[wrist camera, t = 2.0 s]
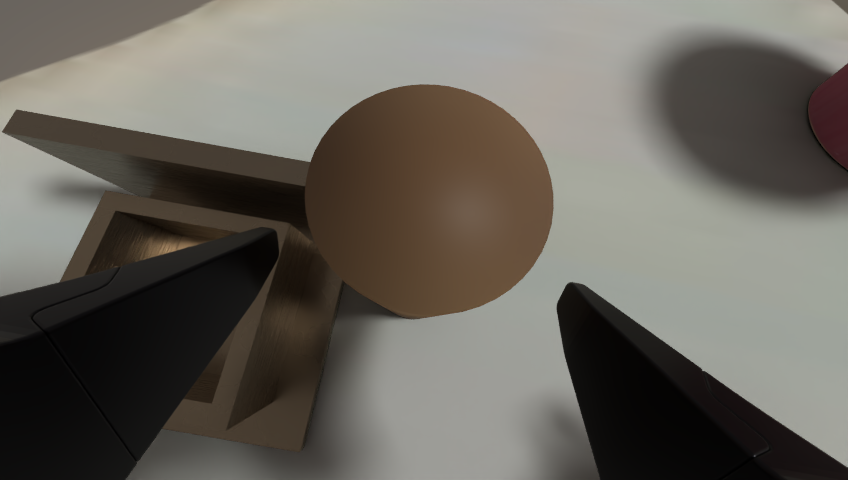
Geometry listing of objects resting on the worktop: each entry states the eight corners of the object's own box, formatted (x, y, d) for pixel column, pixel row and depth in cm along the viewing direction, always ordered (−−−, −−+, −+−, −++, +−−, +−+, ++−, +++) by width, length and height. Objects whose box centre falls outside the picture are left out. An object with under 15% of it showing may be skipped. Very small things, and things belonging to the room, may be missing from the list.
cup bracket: (304, 447, 15) (218, 552, 8) (66, 406, 15) (-220, 477, 8) (358, 223, 18) (328, 165, 11) (162, 188, 18) (16, 109, 11)
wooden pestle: (442, 324, 17) (546, 337, 4) (373, 312, 17) (271, 288, 4) (452, 256, 18) (559, 106, 5) (387, 244, 18) (339, 66, 5)
